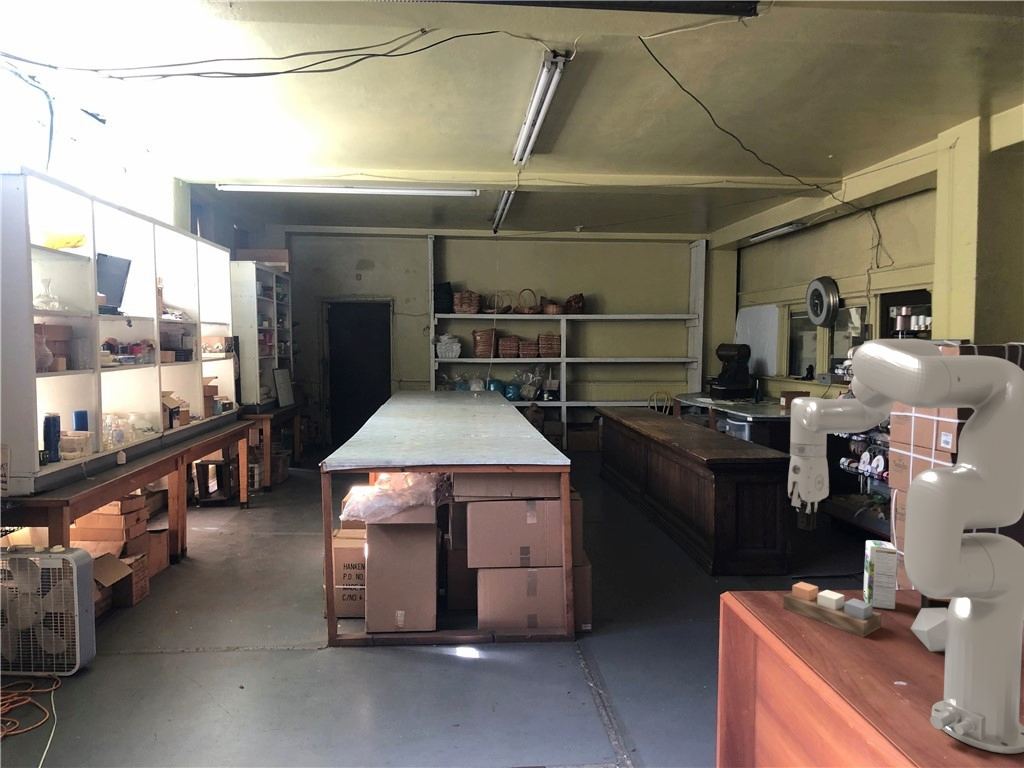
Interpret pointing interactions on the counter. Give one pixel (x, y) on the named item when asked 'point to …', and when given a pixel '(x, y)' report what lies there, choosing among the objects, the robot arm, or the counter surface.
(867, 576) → the syrup box
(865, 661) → the counter surface
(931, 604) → the battery
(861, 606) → the grey button
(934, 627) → the die
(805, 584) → the peach square block
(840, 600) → the cream button
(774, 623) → the counter surface
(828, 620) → the button board
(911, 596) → the counter surface
